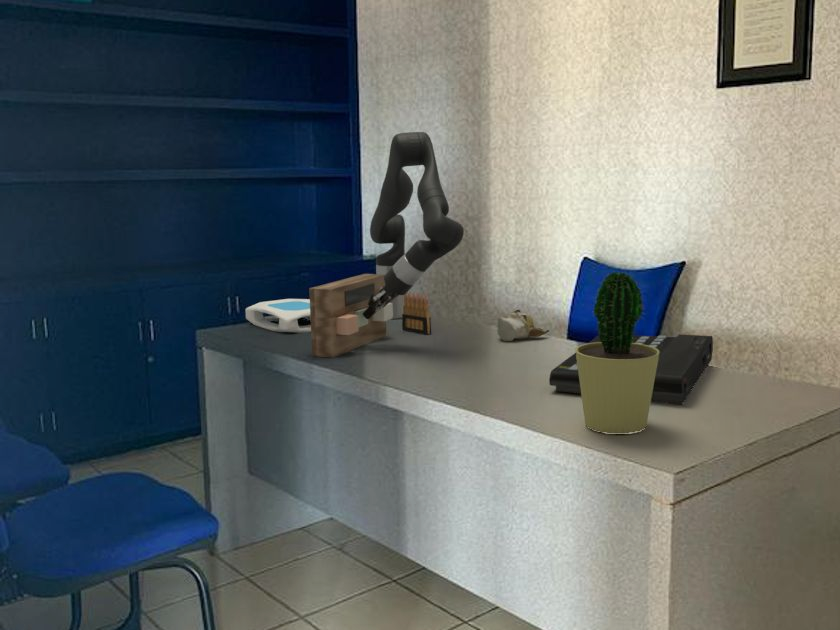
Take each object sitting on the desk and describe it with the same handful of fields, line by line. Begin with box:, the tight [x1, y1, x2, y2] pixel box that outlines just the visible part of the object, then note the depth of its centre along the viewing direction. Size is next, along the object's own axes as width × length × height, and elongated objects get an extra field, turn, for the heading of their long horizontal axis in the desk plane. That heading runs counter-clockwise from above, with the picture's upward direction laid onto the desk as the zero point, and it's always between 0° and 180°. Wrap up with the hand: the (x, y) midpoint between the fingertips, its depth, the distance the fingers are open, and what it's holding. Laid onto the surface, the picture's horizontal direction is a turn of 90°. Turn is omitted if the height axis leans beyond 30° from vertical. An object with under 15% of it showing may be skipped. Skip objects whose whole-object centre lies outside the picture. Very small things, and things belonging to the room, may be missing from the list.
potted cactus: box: [574, 270, 659, 433], centre depth 161 cm, size 15×15×30 cm
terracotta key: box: [336, 314, 359, 335], centre depth 228 cm, size 6×5×4 cm
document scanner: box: [245, 298, 311, 334], centre depth 272 cm, size 21×28×6 cm
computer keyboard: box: [549, 333, 714, 405], centre depth 200 cm, size 45×28×7 cm, turn 154°
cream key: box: [373, 303, 393, 322], centre depth 245 cm, size 6×5×4 cm
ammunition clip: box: [401, 291, 432, 336], centre depth 255 cm, size 11×2×12 cm, turn 45°
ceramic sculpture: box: [496, 309, 550, 342], centre depth 243 cm, size 11×9×15 cm
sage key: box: [355, 308, 368, 327], centre depth 238 cm, size 6×5×4 cm
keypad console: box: [308, 273, 387, 358], centre depth 238 cm, size 7×30×18 cm, turn 155°
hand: (366, 316), depth 236 cm, fingers closed
